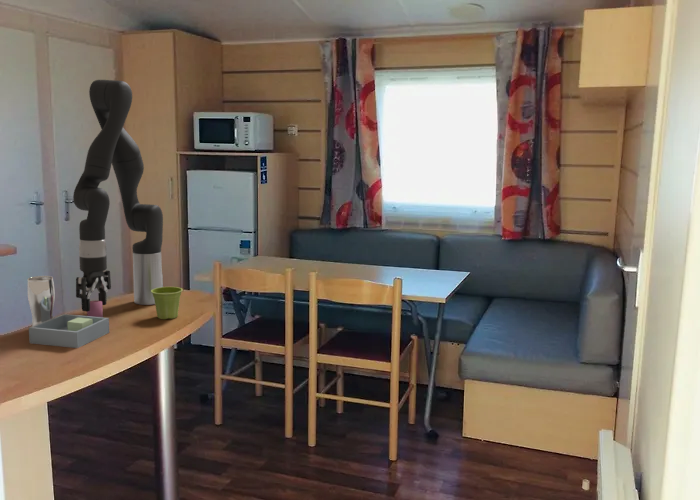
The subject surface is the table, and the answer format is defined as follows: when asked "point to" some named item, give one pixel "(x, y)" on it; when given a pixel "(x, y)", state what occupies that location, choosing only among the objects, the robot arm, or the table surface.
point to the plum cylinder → (95, 309)
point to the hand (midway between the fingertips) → (94, 307)
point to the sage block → (79, 323)
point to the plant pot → (167, 301)
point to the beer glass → (41, 298)
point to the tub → (59, 335)
